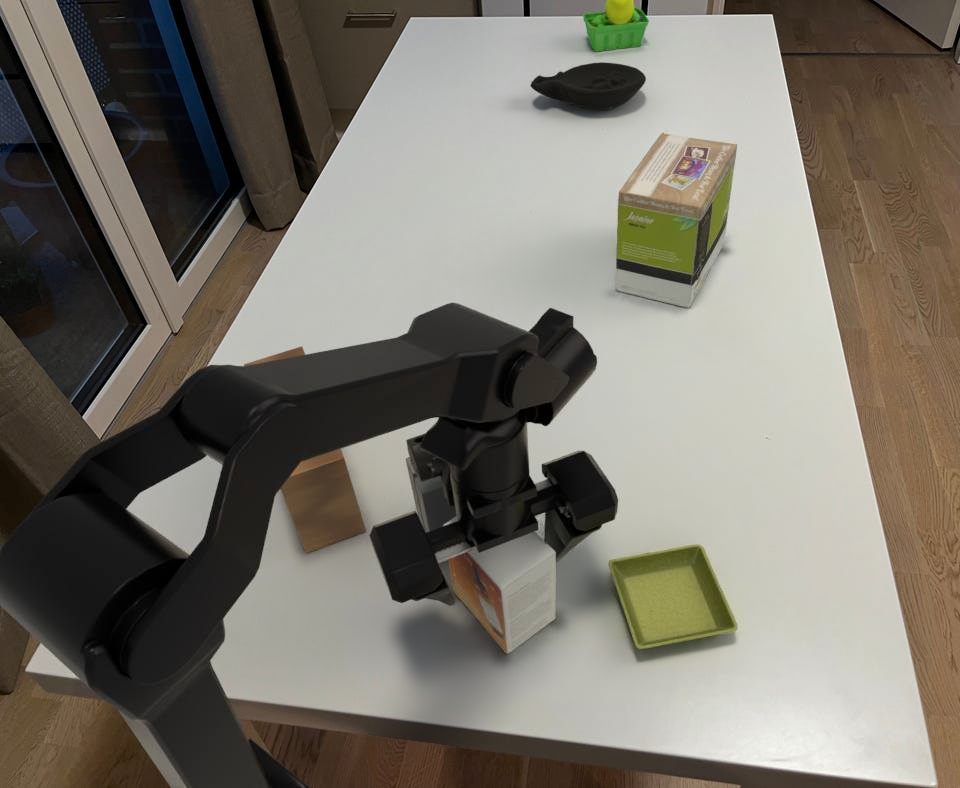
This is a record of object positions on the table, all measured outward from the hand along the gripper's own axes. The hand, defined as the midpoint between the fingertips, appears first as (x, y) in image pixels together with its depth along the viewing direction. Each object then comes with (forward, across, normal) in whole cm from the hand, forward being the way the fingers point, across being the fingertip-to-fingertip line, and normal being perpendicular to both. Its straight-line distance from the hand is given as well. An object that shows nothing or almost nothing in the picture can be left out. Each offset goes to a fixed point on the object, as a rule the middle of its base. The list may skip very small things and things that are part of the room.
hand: (501, 580), depth 67 cm
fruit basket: (+4, -68, -103) cm, 124 cm away
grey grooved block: (+4, 0, -9) cm, 10 cm away
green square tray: (+4, -13, +6) cm, 15 cm away
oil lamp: (+4, -52, -84) cm, 99 cm away
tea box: (+4, -39, -36) cm, 53 cm away
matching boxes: (+4, +12, -21) cm, 24 cm away
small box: (+4, 0, 0) cm, 4 cm away
